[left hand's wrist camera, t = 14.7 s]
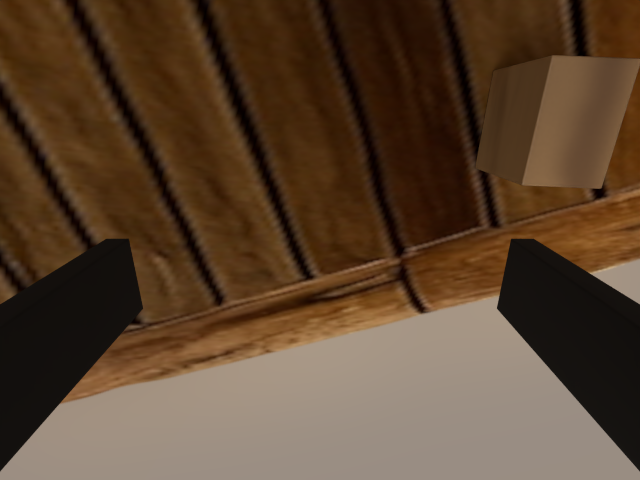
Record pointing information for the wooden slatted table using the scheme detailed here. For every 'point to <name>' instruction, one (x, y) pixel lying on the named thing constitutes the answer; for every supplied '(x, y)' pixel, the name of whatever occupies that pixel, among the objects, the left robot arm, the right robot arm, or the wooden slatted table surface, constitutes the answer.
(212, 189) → the wooden slatted table surface
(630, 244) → the wooden slatted table surface
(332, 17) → the wooden slatted table surface
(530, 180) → the tan brown block
